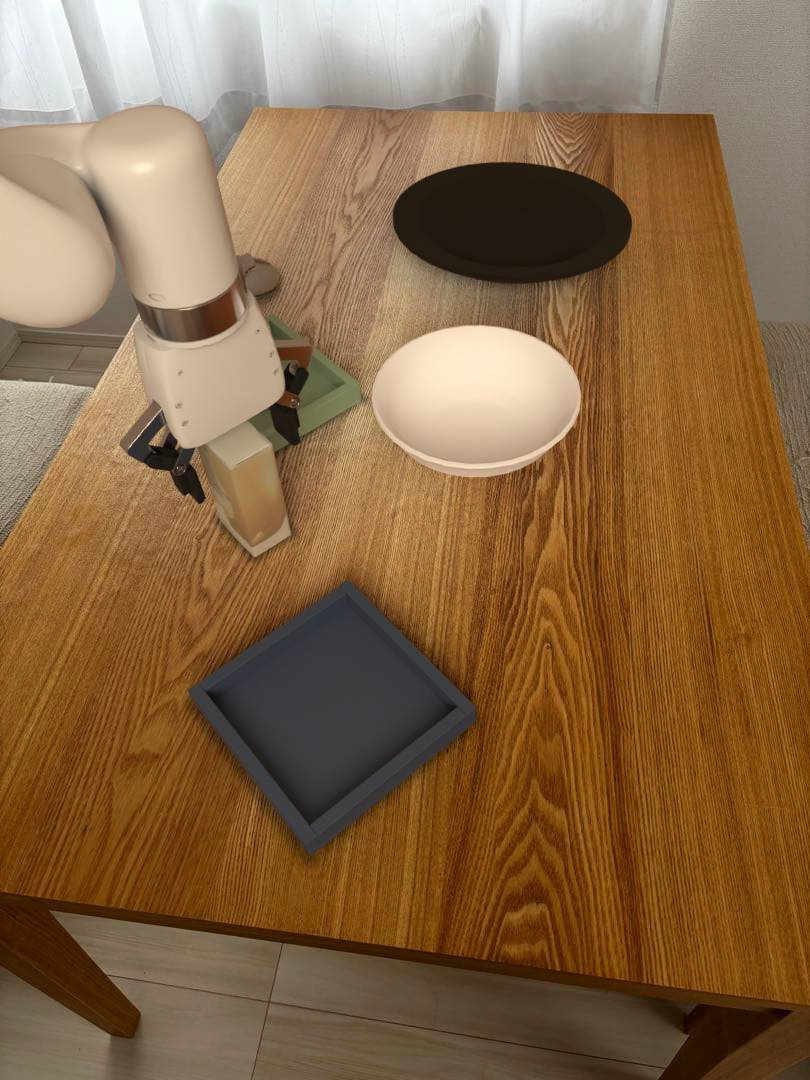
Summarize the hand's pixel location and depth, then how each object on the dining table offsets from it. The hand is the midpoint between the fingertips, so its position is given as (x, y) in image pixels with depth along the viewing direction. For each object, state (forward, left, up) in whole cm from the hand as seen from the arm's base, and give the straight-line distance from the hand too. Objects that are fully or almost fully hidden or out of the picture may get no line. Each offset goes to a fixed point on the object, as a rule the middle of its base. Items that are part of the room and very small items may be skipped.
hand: (242, 464), depth 74 cm
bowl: (+23, -5, -9) cm, 25 cm away
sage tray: (+10, +15, -9) cm, 20 cm away
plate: (+47, +15, -9) cm, 50 cm away
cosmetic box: (0, 0, -9) cm, 9 cm away
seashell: (+20, +32, -9) cm, 39 cm away
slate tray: (-6, -20, -9) cm, 23 cm away
